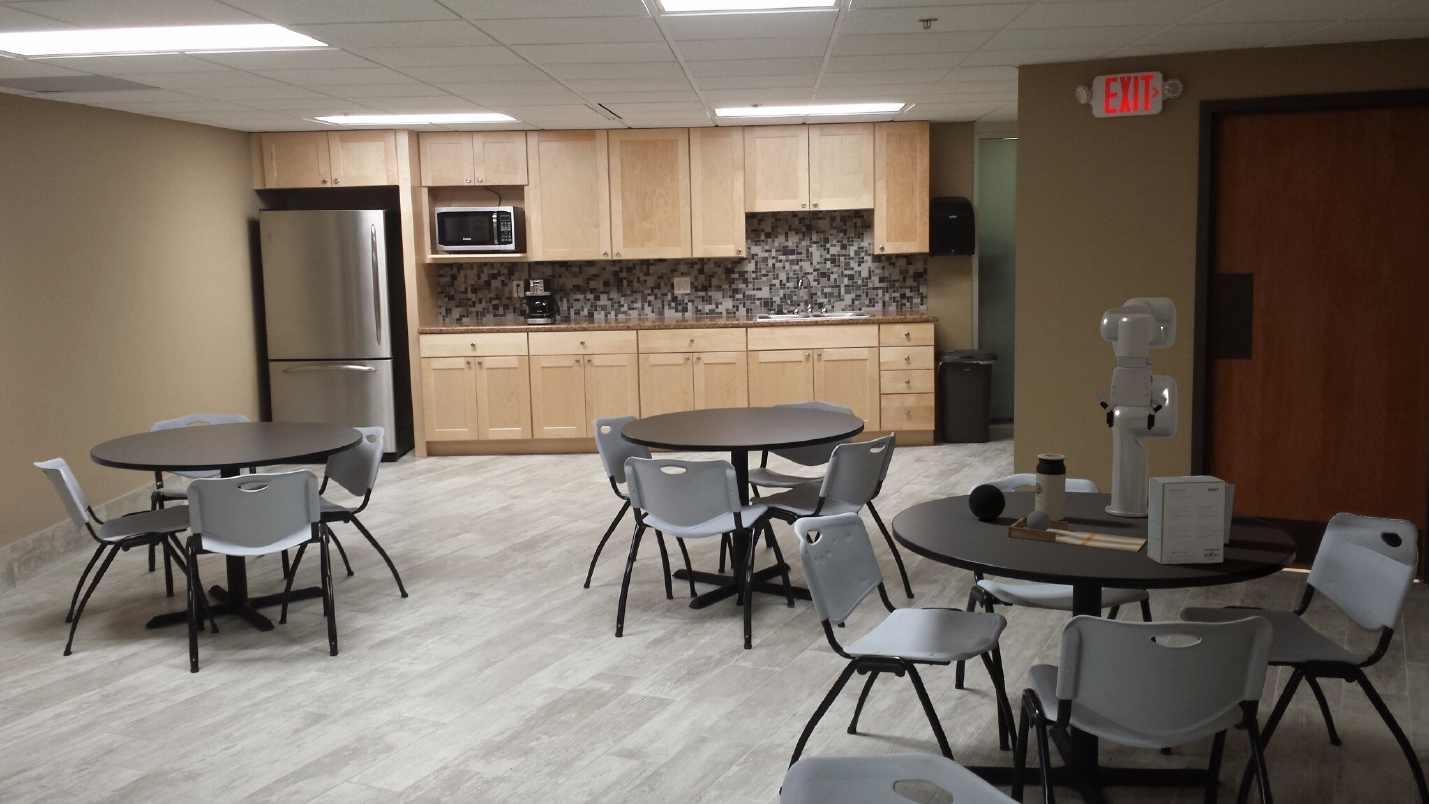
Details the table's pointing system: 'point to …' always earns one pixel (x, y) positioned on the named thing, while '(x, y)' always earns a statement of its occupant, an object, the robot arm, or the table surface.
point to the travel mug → (1051, 485)
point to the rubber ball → (1038, 520)
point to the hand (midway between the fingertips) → (1130, 428)
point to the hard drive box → (1186, 519)
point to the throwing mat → (1074, 536)
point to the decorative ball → (986, 502)
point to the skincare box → (1228, 510)
